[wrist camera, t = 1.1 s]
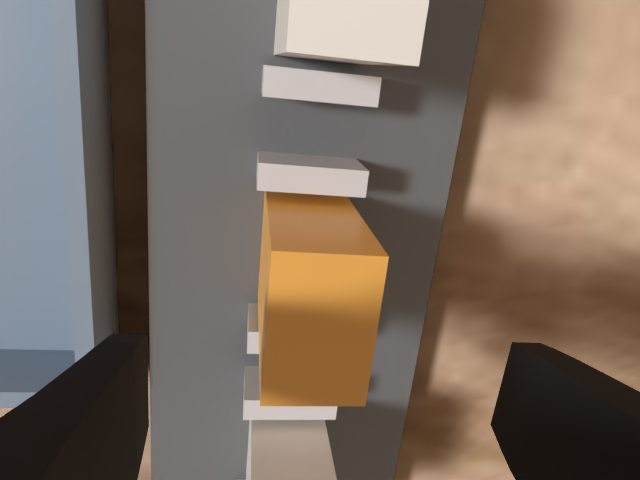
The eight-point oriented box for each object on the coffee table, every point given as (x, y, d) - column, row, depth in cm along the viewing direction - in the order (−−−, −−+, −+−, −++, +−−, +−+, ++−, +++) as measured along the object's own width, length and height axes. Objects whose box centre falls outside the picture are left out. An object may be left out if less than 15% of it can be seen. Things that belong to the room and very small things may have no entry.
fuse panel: (380, 479, 23) (401, 548, 20) (158, 484, 22) (141, 559, 18) (489, -129, 15) (554, -181, 12) (153, -189, 14) (122, -267, 10)
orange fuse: (330, 298, 18) (365, 406, 12) (257, 295, 17) (260, 406, 12) (342, 190, 17) (389, 256, 11) (265, 185, 16) (271, 251, 11)
